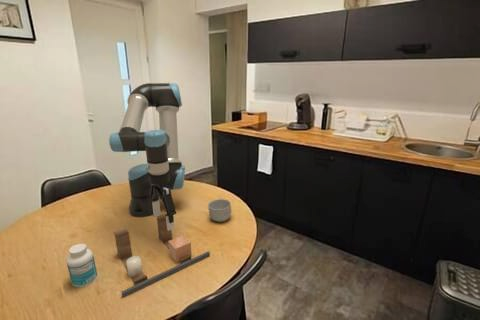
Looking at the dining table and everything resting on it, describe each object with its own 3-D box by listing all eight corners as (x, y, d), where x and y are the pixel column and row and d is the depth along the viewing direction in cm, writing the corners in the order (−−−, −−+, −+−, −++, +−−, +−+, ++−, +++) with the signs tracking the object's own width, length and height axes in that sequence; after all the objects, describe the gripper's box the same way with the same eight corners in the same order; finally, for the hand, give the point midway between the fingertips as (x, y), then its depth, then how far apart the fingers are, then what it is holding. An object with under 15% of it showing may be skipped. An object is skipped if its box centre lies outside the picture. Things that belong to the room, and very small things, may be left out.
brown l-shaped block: (159, 241, 108) (156, 216, 105) (168, 237, 111) (166, 213, 107) (181, 267, 93) (179, 240, 90) (191, 263, 96) (189, 235, 92)
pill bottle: (79, 274, 90) (71, 241, 86) (101, 273, 91) (95, 240, 87) (67, 291, 83) (58, 256, 79) (92, 290, 84) (84, 254, 80)
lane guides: (104, 260, 97) (103, 253, 96) (180, 230, 116) (180, 224, 115) (123, 301, 79) (122, 293, 79) (210, 259, 98) (209, 252, 97)
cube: (169, 254, 98) (168, 240, 96) (184, 248, 101) (183, 235, 100) (176, 263, 93) (175, 249, 92) (191, 256, 97) (190, 242, 95)
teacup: (228, 225, 119) (227, 210, 117) (205, 223, 122) (204, 207, 119) (234, 211, 132) (234, 196, 130) (214, 209, 135) (213, 194, 132)
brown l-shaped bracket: (118, 257, 99) (113, 230, 95) (129, 253, 101) (125, 227, 98) (135, 289, 84) (131, 259, 80) (148, 283, 86) (144, 254, 83)
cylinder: (126, 271, 90) (124, 259, 88) (139, 266, 92) (138, 254, 91) (130, 279, 86) (128, 266, 85) (144, 273, 89) (142, 260, 87)
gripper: (137, 165, 106) (143, 213, 112) (162, 184, 87) (167, 239, 93) (155, 162, 110) (160, 207, 116) (183, 178, 91) (186, 232, 98)
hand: (163, 222), depth 105 cm, fingers open, 13 cm apart
